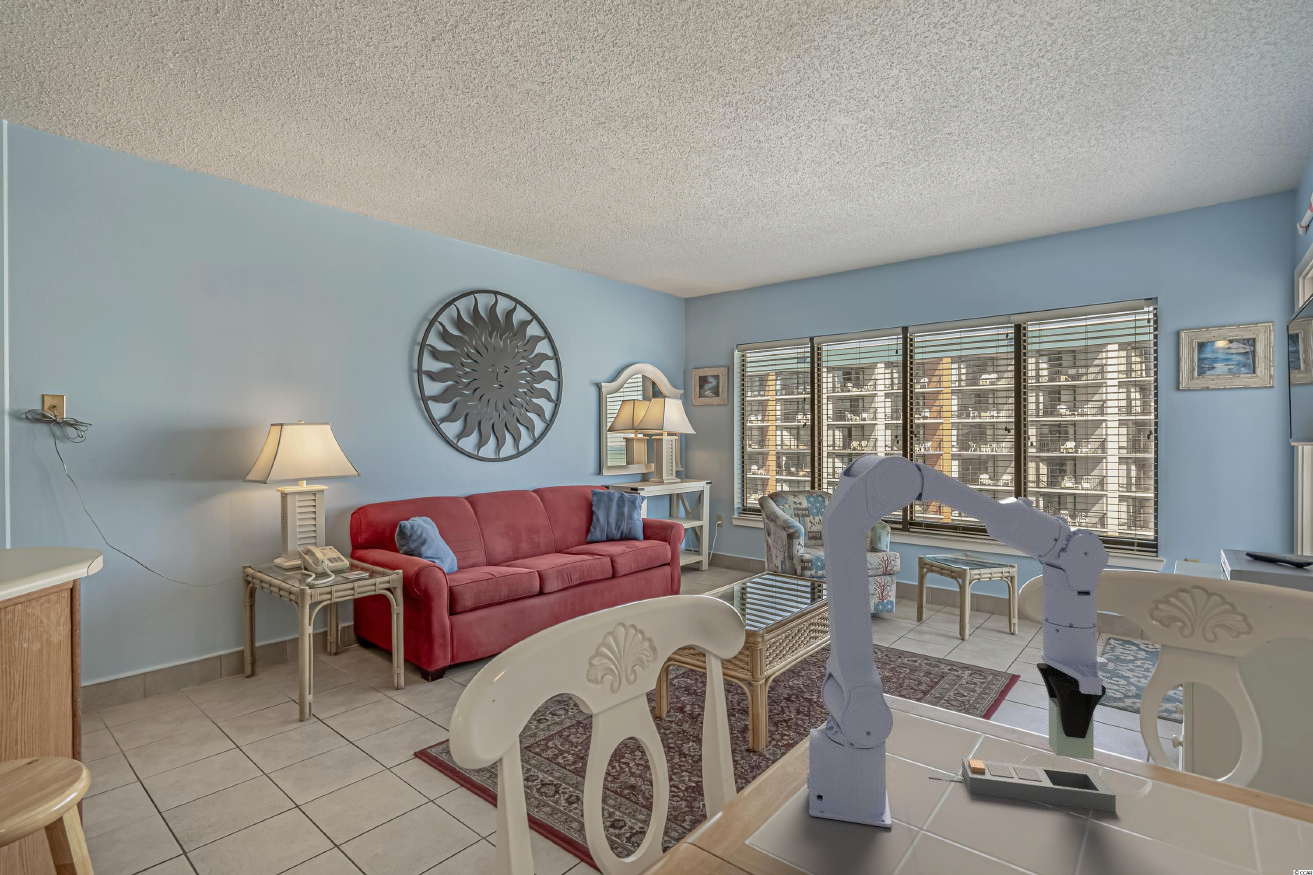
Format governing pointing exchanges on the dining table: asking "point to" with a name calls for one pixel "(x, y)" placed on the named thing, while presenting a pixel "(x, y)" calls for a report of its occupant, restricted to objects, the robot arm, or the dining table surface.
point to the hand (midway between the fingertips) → (1069, 729)
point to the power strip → (1037, 784)
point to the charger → (1068, 744)
